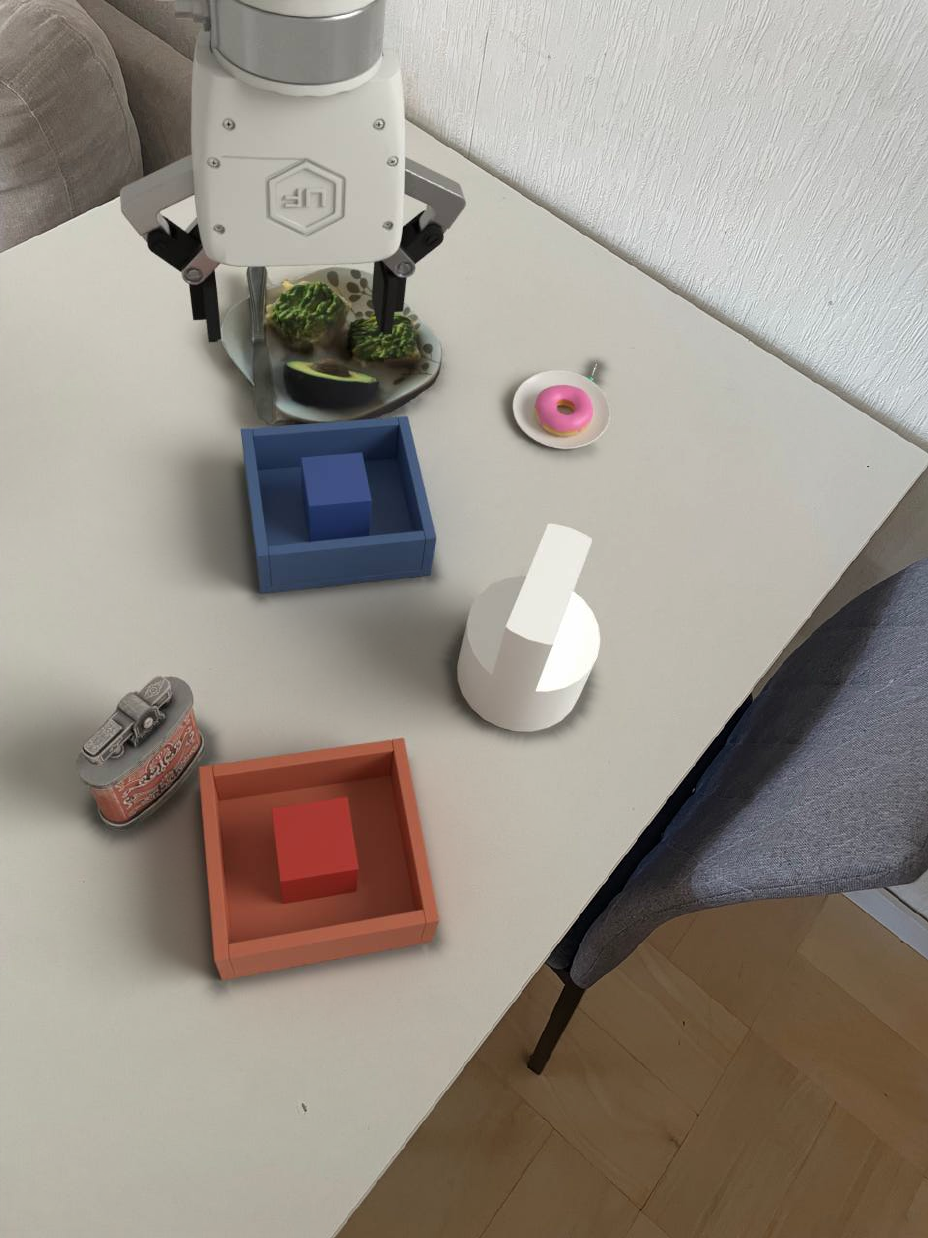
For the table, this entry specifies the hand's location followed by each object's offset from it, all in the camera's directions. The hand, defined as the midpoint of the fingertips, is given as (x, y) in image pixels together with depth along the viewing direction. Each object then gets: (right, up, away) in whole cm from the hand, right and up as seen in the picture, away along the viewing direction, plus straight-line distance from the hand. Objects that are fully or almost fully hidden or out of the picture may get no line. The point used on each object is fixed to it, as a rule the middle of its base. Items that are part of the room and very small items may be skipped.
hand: (298, 321), depth 58 cm
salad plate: (-2, +5, +28) cm, 29 cm away
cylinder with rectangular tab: (+13, -21, +15) cm, 29 cm away
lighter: (-10, -27, +7) cm, 30 cm away
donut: (+18, +1, +29) cm, 34 cm away
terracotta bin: (0, -33, +5) cm, 33 cm away
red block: (0, -32, +5) cm, 32 cm away
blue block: (0, -9, +19) cm, 21 cm away
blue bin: (0, -10, +20) cm, 22 cm away
